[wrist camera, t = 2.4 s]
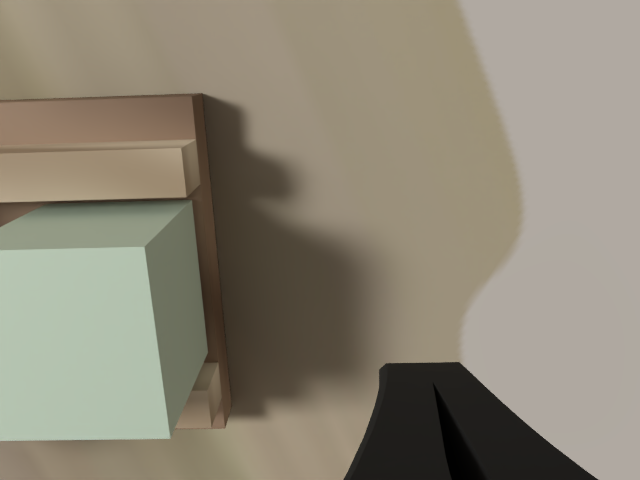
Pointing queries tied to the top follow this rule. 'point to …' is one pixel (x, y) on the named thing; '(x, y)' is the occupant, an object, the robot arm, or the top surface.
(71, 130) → the track
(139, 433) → the block
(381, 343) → the top surface
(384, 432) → the robot arm
